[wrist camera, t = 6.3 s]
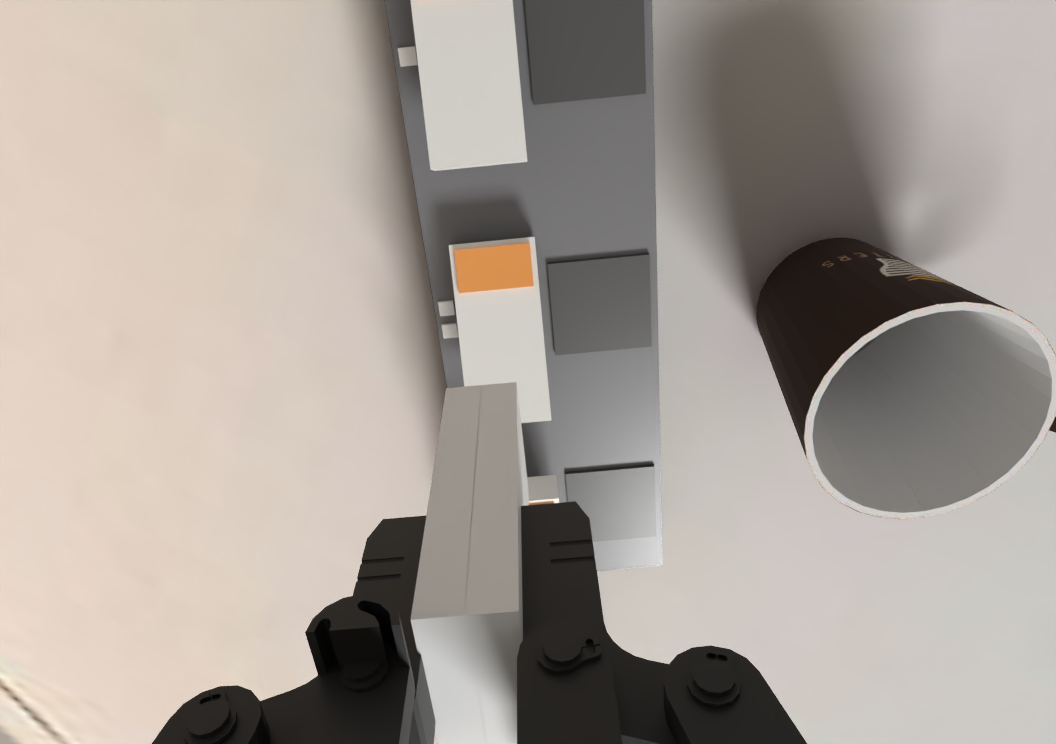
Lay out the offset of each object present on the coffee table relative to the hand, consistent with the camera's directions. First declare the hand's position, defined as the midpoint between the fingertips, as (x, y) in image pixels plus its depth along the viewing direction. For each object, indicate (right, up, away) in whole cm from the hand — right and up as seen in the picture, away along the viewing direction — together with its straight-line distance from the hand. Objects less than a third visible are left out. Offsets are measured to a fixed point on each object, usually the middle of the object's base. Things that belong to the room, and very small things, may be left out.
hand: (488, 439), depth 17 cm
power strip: (+2, +2, +20) cm, 20 cm away
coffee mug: (+16, +4, +19) cm, 25 cm away
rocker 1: (-1, +12, +9) cm, 15 cm away
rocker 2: (0, +3, +13) cm, 14 cm away
